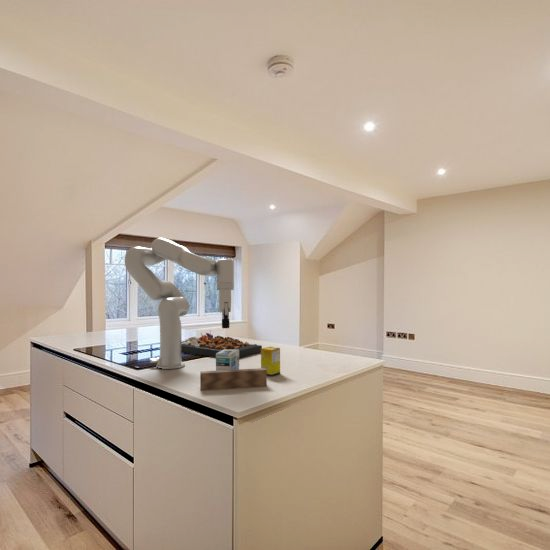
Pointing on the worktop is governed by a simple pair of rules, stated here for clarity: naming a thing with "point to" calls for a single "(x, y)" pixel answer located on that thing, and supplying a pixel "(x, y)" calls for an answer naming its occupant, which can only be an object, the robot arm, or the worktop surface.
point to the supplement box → (271, 360)
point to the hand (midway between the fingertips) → (225, 327)
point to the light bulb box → (227, 360)
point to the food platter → (217, 346)
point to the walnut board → (233, 378)
